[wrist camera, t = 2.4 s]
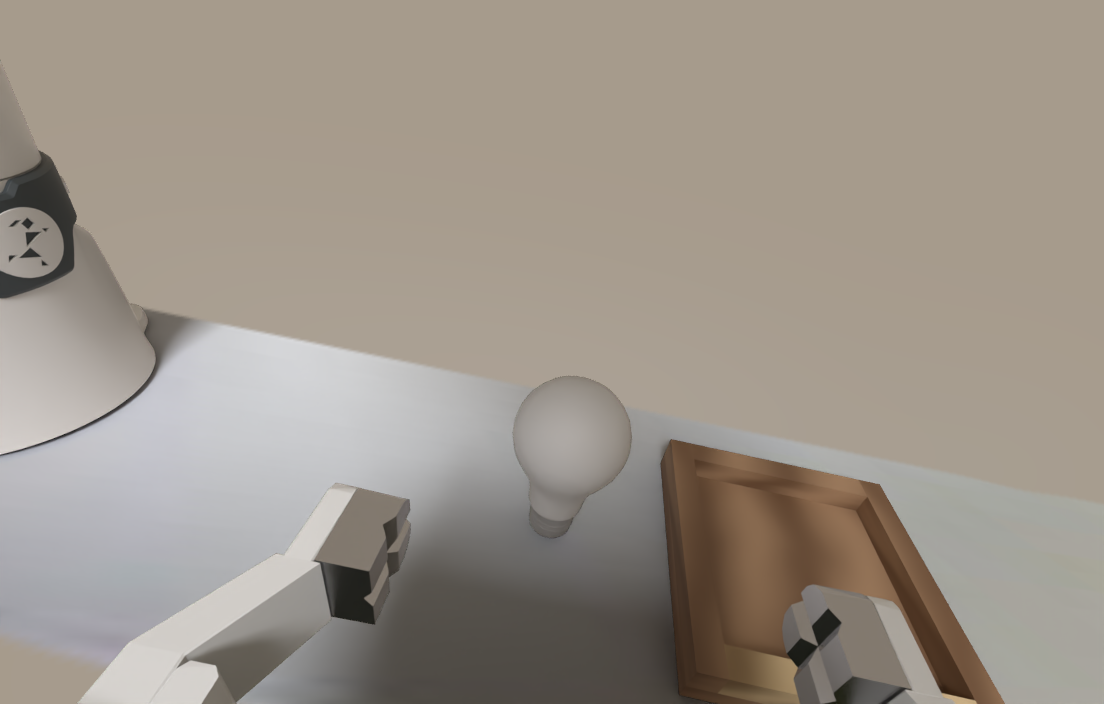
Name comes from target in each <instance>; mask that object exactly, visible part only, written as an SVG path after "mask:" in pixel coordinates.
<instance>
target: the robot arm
mask: <svg viewBox="0 0 1104 704" xmlns="http://www.w3.org/2000/svg"><path fill="white" fill-rule="evenodd" d="M68 193H69V190H68V188H67V186H66V183H65V181H64V179H63V178H62V177H61V176H60V175H59V173H58V171H57V169H56V167H55V165H54V163H53V161H52V159H51V158H50V157H49V156H48V155H46V154H45V153H43V152H41V151H39V150H38V148H37V146H36V144H35V141H34V139H33V136H32V134H31V132H30V129H29V127H28V125H27V122H26V120H25V118H24V115H23V113H22V111H21V108H20V106H19V103H18V101H17V99H16V96H15V94H14V92H13V89H12V87H11V84H10V82H9V80H8V77H7V75H6V73H5V70H4V68H3V65H2V63H1V61H0V454H4V453H8V452H12V451H16V450H19V449H23V448H26V447H29V446H32V445H35V444H39V443H42V442H44V441H47V440H50V439H53V438H55V437H58V436H60V435H63V434H65V433H68V432H70V431H72V430H75V429H77V428H79V427H81V426H83V425H86V424H88V423H90V422H91V421H93V420H95V419H97V418H99V417H101V416H103V415H104V414H106V413H108V412H109V411H111V410H113V409H114V408H116V407H117V406H119V405H120V404H122V403H123V402H124V401H126V400H127V399H128V398H129V397H131V396H132V395H133V394H134V393H135V392H136V391H137V390H138V389H140V387H141V386H142V385H143V384H144V383H145V382H146V380H147V379H148V378H149V376H150V375H151V373H152V371H153V368H154V366H155V361H156V356H155V351H154V349H153V347H152V345H151V344H150V343H149V341H148V340H147V338H146V337H145V334H144V332H145V329H146V326H147V323H148V318H147V316H146V314H145V312H144V310H143V308H142V307H141V306H139V305H135V304H129V302H128V300H127V298H126V297H125V294H124V292H123V291H122V289H121V287H120V285H119V283H118V281H117V279H116V277H115V276H114V274H113V272H112V270H111V268H110V266H109V264H108V263H107V261H106V259H105V257H104V255H103V253H102V251H101V250H100V248H99V246H98V244H97V242H96V241H95V239H94V237H93V236H92V234H91V233H90V232H89V231H88V230H87V229H85V228H84V227H81V226H79V225H77V224H75V222H76V217H77V216H76V213H75V210H74V208H73V205H72V203H71V201H70V198H69V196H68ZM409 512H410V500H409V499H405V498H401V497H396V496H392V495H388V494H383V493H379V492H374V491H370V490H366V489H362V488H358V487H353V486H348V485H344V484H339V483H335V484H334V485H333V486H332V487H330V488H329V489H328V490H327V492H326V493H325V495H324V496H323V498H322V499H321V501H320V502H319V503H318V505H317V506H316V508H315V509H314V511H313V512H312V514H311V515H310V517H309V518H308V520H307V521H306V523H305V524H304V526H303V527H302V529H301V530H300V531H299V533H298V534H297V536H296V537H295V539H294V540H293V542H292V543H291V545H290V546H289V548H288V549H287V551H286V552H285V554H284V555H283V554H278V553H276V554H274V555H273V556H271V557H269V558H268V559H266V560H264V561H263V562H261V563H259V564H258V565H256V566H254V567H253V568H251V569H249V570H248V571H246V572H244V573H243V574H241V575H240V576H238V577H236V578H235V579H233V580H231V581H230V582H228V583H226V584H225V585H223V586H221V587H220V588H218V589H216V590H215V591H213V592H211V593H210V594H208V595H206V596H205V597H203V598H202V599H200V600H198V601H197V602H195V603H193V604H192V605H190V606H188V607H187V608H185V609H183V610H182V611H180V612H178V613H177V614H175V615H173V616H172V617H170V618H168V619H167V620H165V621H164V622H162V623H160V624H159V625H157V626H155V627H154V628H152V629H150V630H149V631H147V632H145V633H144V634H142V635H140V636H139V637H137V638H135V639H134V640H132V641H131V642H129V643H128V644H127V645H126V646H125V647H124V649H123V650H122V651H121V652H120V653H119V654H118V656H117V657H116V658H115V659H114V660H113V662H112V663H111V664H110V665H109V666H108V668H107V669H106V670H105V671H104V672H103V673H102V675H101V676H100V677H99V678H98V679H97V681H96V682H95V683H94V684H93V685H92V687H91V688H90V689H89V690H88V691H87V693H86V694H85V695H84V696H83V697H82V698H81V700H80V701H79V702H78V703H77V704H236V702H237V701H238V700H240V699H241V698H242V697H243V696H244V695H245V694H246V693H248V692H249V691H250V690H251V689H252V688H253V687H255V686H256V685H257V684H258V683H259V682H260V681H261V680H263V679H264V678H265V677H266V676H267V675H268V674H270V673H271V672H272V671H273V670H274V669H275V668H276V667H278V666H279V665H280V664H281V663H282V662H283V661H284V660H286V659H287V658H288V657H289V656H290V655H291V654H293V653H294V652H295V651H296V650H297V649H298V648H299V647H301V646H302V645H303V644H304V643H305V642H306V641H308V640H309V639H310V638H311V637H312V636H313V635H314V634H316V633H317V632H318V631H319V630H320V629H321V628H323V627H324V626H325V625H326V624H327V623H328V622H329V621H331V619H332V618H331V617H336V618H342V619H347V620H352V621H358V622H363V623H368V624H374V625H375V624H376V621H377V619H378V617H379V615H380V612H381V610H382V608H383V606H384V603H385V601H386V599H387V596H388V594H389V592H390V587H389V577H390V576H391V575H393V574H394V573H396V572H397V571H398V570H399V569H400V566H401V564H402V562H403V559H404V557H405V554H406V550H407V547H408V544H409V539H410V532H411V524H410V523H409V521H408V520H407V519H406V518H407V516H408V514H409ZM801 595H802V598H803V601H801V602H798V603H795V604H792V605H791V606H790V607H789V609H788V610H787V611H786V613H785V614H784V620H783V626H782V632H783V641H784V645H785V649H786V653H787V655H788V656H789V657H790V659H791V660H792V661H793V662H794V664H795V665H796V666H797V667H798V669H797V671H796V674H795V676H794V679H793V680H794V683H795V687H796V691H797V694H798V698H799V702H800V704H956V703H955V702H954V701H953V700H952V699H948V698H944V697H943V695H942V693H941V691H940V689H939V687H938V685H937V683H936V681H935V679H934V677H933V675H932V673H931V671H930V669H929V667H928V665H927V663H926V661H925V659H924V657H923V655H922V653H921V651H920V649H919V647H918V645H917V643H916V641H915V639H914V637H913V635H912V633H911V631H910V629H909V627H908V625H907V623H906V621H905V619H904V617H903V615H902V612H901V611H900V609H899V608H898V607H897V605H896V604H895V603H894V602H893V601H889V600H886V599H882V598H876V597H871V596H866V595H862V594H861V593H855V592H850V591H845V590H840V589H835V588H830V587H825V586H819V585H814V584H813V585H809V586H807V587H806V588H805V589H804V590H803V591H802V592H801Z"/></svg>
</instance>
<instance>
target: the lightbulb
mask: <svg viewBox="0 0 1104 704" xmlns="http://www.w3.org/2000/svg"><path fill="white" fill-rule="evenodd" d="M631 439H632V435H631V427H630V420H629V418H628V415H627V413H626V410H625V408H624V406H623V405H622V403H621V402H620V400H619V399H618V398H617V397H616V395H615V394H614V393H613V392H612V391H611V390H609V389H608V388H607V387H605V386H604V385H602V384H600V383H598V382H596V381H594V380H591V379H588V378H583V377H578V376H564V377H558V378H555V379H553V380H550V381H548V382H545V383H543V384H542V385H540V386H539V387H537V388H536V389H535V390H533V391H532V392H531V393H530V394H529V395H528V396H527V397H526V399H525V400H524V402H523V403H522V405H521V407H520V409H519V411H518V413H517V415H516V417H515V422H514V428H513V442H514V449H515V453H516V456H517V459H518V461H519V463H520V465H521V467H522V469H523V471H524V472H525V474H526V475H527V477H528V478H529V483H530V489H529V500H530V503H531V506H530V513H529V520H530V524H531V526H532V528H533V529H534V530H535V532H537V533H538V534H539V535H541V536H544V537H547V538H557V537H560V536H562V535H564V534H565V533H566V532H567V530H568V529H569V526H570V524H571V523H572V520H573V518H574V516H575V515H576V514H577V513H578V512H579V510H580V508H581V506H582V504H583V502H584V500H585V499H586V497H587V496H589V495H591V494H593V493H595V492H597V491H598V490H600V489H601V488H603V487H605V486H606V485H607V484H609V483H610V482H612V481H613V480H614V479H615V477H616V476H617V475H618V474H619V473H620V471H621V470H622V469H623V467H624V465H625V463H626V461H627V459H628V456H629V453H630V448H631Z"/></svg>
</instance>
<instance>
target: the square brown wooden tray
mask: <svg viewBox="0 0 1104 704" xmlns="http://www.w3.org/2000/svg"><path fill="white" fill-rule="evenodd" d="M661 474H662V487H663V499H664V512H665V524H666V536H667V549H668V561H669V574H670V586H671V599H672V611H673V624H674V636H675V649H676V661H677V673H678V686H679V695H681V696H686V697H690V698H695V699H699V700H703V701H708V702H712V703H717V704H800V702H799V698H798V694H797V691H796V687H795V683H794V680H793V679H794V676H795V674H796V671H797V669H798V667H797V666H796V665H795V664H794V662H793V661H792V660H791V659H790V657H789V656H788V655H787V653H786V649H785V645H784V641H783V632H782V626H783V620H784V614H785V613H786V611H787V610H788V609H789V607H790V606H791V605H792V604H795V603H798V602H801V601H803V598H802V595H801V592H802V591H803V590H804V589H805V588H806V587H807V586H809V585H813V584H814V585H819V586H825V587H830V588H835V589H840V590H845V591H850V592H855V593H861V594H862V595H866V596H871V597H876V598H882V599H886V600H889V601H893V602H894V603H895V604H896V605H897V607H898V608H899V609H900V611H901V612H902V615H903V617H904V619H905V621H906V623H907V625H908V627H909V629H910V631H911V633H912V635H913V637H914V639H915V641H916V643H917V645H918V647H919V649H920V651H921V653H922V655H923V657H924V659H925V661H926V663H927V665H928V667H929V669H930V671H931V673H932V675H933V677H934V679H935V681H936V683H937V685H938V687H939V689H940V691H941V693H942V695H943V697H944V698H948V699H952V700H953V701H954V702H955V703H956V704H1005V703H1004V701H1003V700H1002V698H1001V696H1000V694H999V693H998V691H997V689H996V687H995V686H994V684H993V682H992V680H991V679H990V677H989V675H988V673H987V672H986V670H985V668H984V666H983V665H982V663H981V661H980V659H979V658H978V656H977V654H976V652H975V651H974V649H973V647H972V645H971V644H970V642H969V640H968V638H967V637H966V635H965V633H964V631H963V630H962V628H961V626H960V624H959V623H958V621H957V619H956V617H955V616H954V614H953V612H952V610H951V609H950V607H949V605H948V603H947V602H946V600H945V598H944V596H943V595H942V593H941V591H940V589H939V588H938V586H937V584H936V582H935V581H934V579H933V577H932V575H931V574H930V572H929V570H928V568H927V567H926V565H925V563H924V561H923V560H922V558H921V556H920V554H919V553H918V551H917V549H916V547H915V546H914V544H913V542H912V540H911V539H910V537H909V535H908V533H907V532H906V530H905V528H904V526H903V525H902V523H901V521H900V519H899V518H898V516H897V514H896V512H895V511H894V509H893V507H892V505H891V504H890V502H889V500H888V498H887V497H886V495H885V493H884V491H883V490H882V488H881V486H880V484H875V483H871V482H866V481H861V480H857V479H852V478H848V477H843V476H838V475H834V474H829V473H824V472H820V471H815V470H811V469H806V468H801V467H797V466H792V465H787V464H783V463H778V462H774V461H769V460H764V459H760V458H755V457H750V456H746V455H741V454H737V453H732V452H727V451H723V450H718V449H714V448H709V447H704V446H700V445H695V444H690V443H686V442H681V441H677V440H672V439H671V440H670V443H669V445H668V447H667V449H666V452H665V454H664V456H663V459H662V461H661Z"/></svg>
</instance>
